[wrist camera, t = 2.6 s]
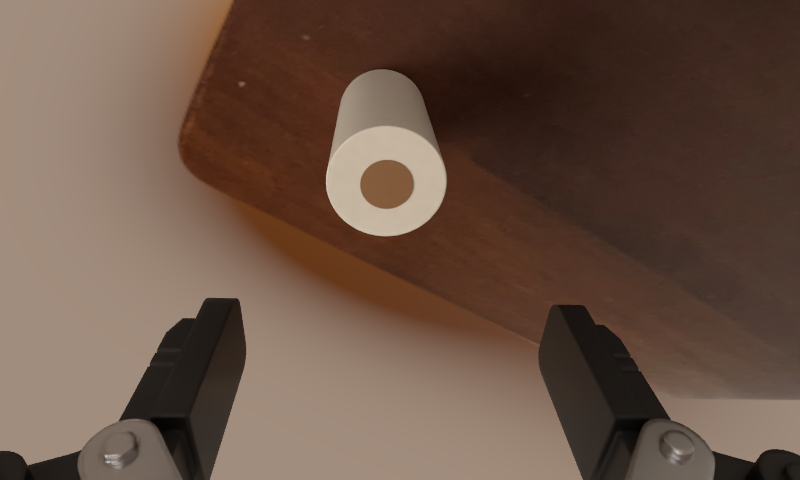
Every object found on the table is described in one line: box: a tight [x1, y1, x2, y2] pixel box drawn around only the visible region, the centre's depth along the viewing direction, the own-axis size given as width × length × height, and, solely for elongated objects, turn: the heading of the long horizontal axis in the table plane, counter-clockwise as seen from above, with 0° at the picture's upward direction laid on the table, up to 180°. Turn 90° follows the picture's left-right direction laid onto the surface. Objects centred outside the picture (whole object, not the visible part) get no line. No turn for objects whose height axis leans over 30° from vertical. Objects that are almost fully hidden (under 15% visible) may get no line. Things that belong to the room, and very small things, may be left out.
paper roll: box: [326, 69, 447, 236], centre depth 24 cm, size 5×5×10 cm
